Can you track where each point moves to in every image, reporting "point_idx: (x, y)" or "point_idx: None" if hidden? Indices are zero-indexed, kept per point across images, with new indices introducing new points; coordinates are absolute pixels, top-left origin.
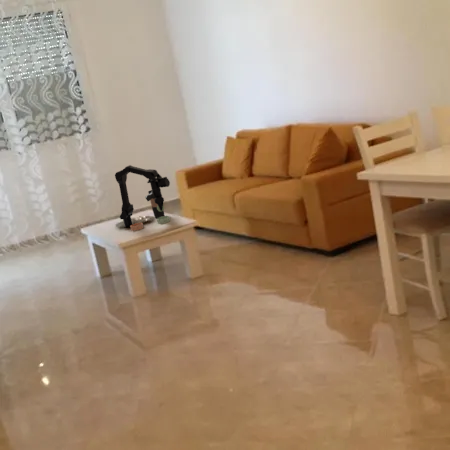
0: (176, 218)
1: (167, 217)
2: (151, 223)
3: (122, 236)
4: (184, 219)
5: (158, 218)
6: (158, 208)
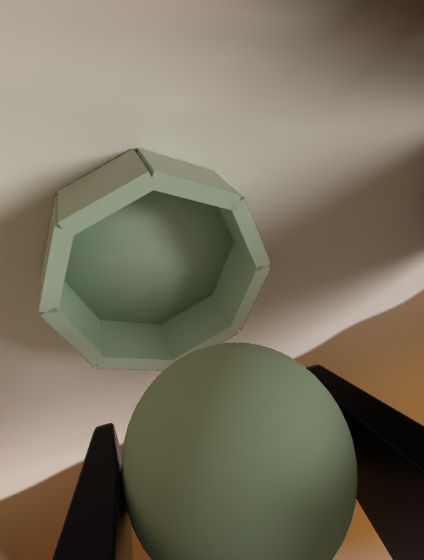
0: None
1: (97, 361)
2: (266, 12)
3: None
4: (23, 482)
5: (202, 202)
6: (144, 457)
